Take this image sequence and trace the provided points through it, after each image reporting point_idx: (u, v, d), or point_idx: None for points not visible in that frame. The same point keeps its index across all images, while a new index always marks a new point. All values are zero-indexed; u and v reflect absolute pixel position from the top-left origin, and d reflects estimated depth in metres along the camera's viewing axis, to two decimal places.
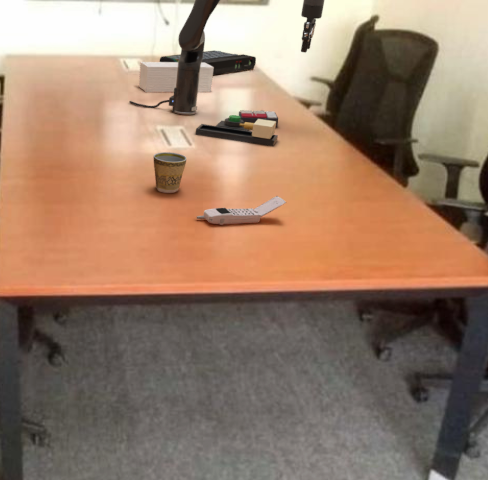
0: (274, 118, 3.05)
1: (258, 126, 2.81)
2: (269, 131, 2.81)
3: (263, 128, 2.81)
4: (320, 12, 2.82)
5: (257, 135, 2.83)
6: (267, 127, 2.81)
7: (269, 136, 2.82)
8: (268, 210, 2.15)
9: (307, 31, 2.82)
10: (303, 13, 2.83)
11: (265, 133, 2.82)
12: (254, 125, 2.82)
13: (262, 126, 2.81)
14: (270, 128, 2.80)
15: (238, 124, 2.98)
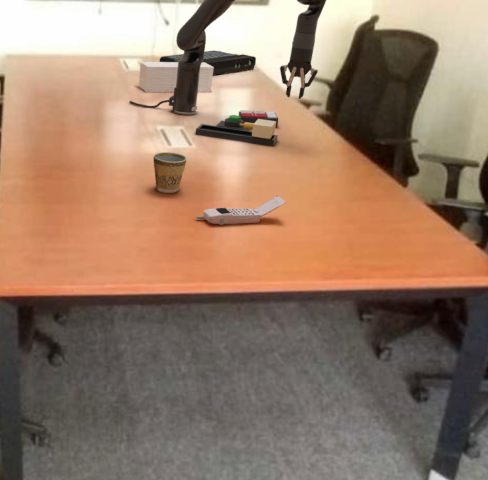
0: (274, 118, 3.05)
1: (258, 126, 2.81)
2: (269, 131, 2.81)
3: (263, 128, 2.81)
4: (295, 55, 2.66)
5: (257, 135, 2.83)
6: (267, 127, 2.81)
7: (269, 136, 2.82)
8: (268, 210, 2.15)
9: None
10: None
11: (265, 133, 2.82)
12: (254, 125, 2.82)
13: (262, 126, 2.81)
14: (270, 128, 2.80)
15: (238, 124, 2.98)
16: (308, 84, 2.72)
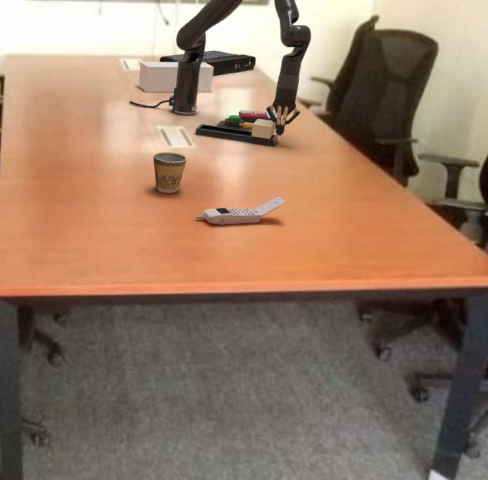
0: None
1: (258, 126, 2.81)
2: (269, 131, 2.81)
3: (263, 128, 2.81)
4: (280, 94, 2.75)
5: (257, 135, 2.83)
6: (267, 127, 2.81)
7: (269, 136, 2.82)
8: (268, 210, 2.15)
9: None
10: None
11: (265, 133, 2.82)
12: (254, 125, 2.82)
13: (262, 126, 2.81)
14: (270, 128, 2.80)
15: (238, 124, 2.98)
16: (288, 122, 2.80)
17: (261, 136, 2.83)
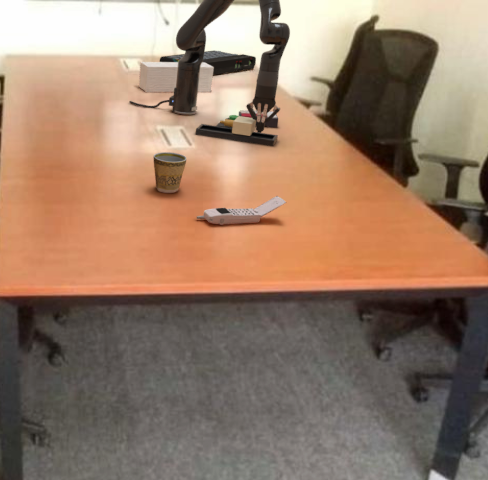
0: (274, 118, 3.05)
1: (238, 123, 2.83)
2: (249, 128, 2.83)
3: (243, 125, 2.83)
4: (259, 91, 2.76)
5: (237, 132, 2.85)
6: (247, 124, 2.82)
7: (249, 133, 2.84)
8: (268, 210, 2.15)
9: None
10: None
11: (245, 130, 2.84)
12: (234, 122, 2.83)
13: (242, 123, 2.83)
14: (250, 125, 2.82)
15: None
16: (268, 119, 2.82)
17: (241, 133, 2.85)
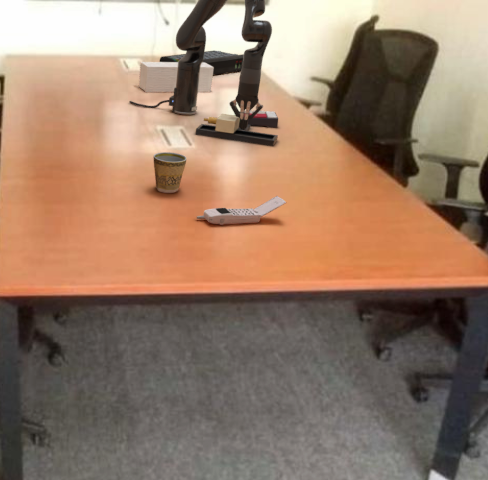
0: (274, 118, 3.05)
1: (221, 121, 2.85)
2: (232, 126, 2.84)
3: (226, 123, 2.84)
4: (242, 89, 2.78)
5: (220, 130, 2.86)
6: (230, 122, 2.84)
7: (232, 130, 2.85)
8: (268, 210, 2.15)
9: None
10: None
11: (228, 127, 2.85)
12: (217, 120, 2.85)
13: (225, 121, 2.84)
14: (233, 123, 2.84)
15: None
16: (251, 116, 2.84)
17: (225, 131, 2.86)
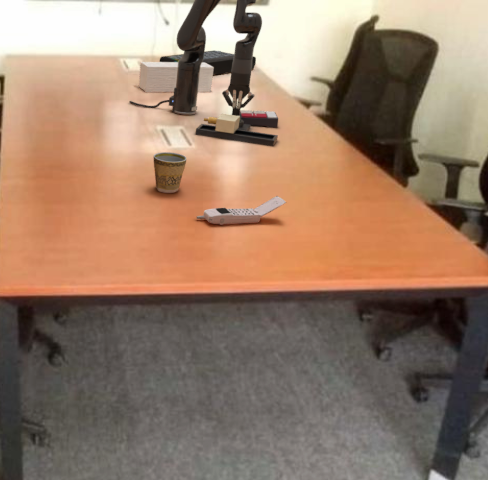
0: (274, 118, 3.05)
1: (221, 121, 2.85)
2: (232, 126, 2.84)
3: (226, 123, 2.84)
4: (234, 79, 2.89)
5: (220, 130, 2.86)
6: (230, 122, 2.84)
7: (232, 130, 2.85)
8: (268, 210, 2.15)
9: None
10: None
11: (228, 127, 2.85)
12: (217, 120, 2.85)
13: (225, 121, 2.84)
14: (233, 123, 2.84)
15: None
16: (243, 105, 2.95)
17: (225, 131, 2.86)
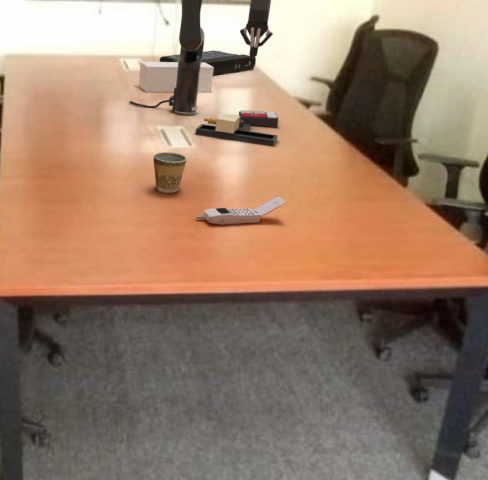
0: (274, 118, 3.05)
1: (221, 121, 2.85)
2: (232, 126, 2.84)
3: (226, 123, 2.84)
4: (252, 15, 2.85)
5: (220, 130, 2.86)
6: (230, 122, 2.84)
7: (232, 130, 2.85)
8: (268, 210, 2.15)
9: None
10: None
11: (228, 127, 2.85)
12: (217, 120, 2.85)
13: (225, 121, 2.84)
14: (233, 123, 2.84)
15: None
16: (261, 43, 2.91)
17: (225, 131, 2.86)
